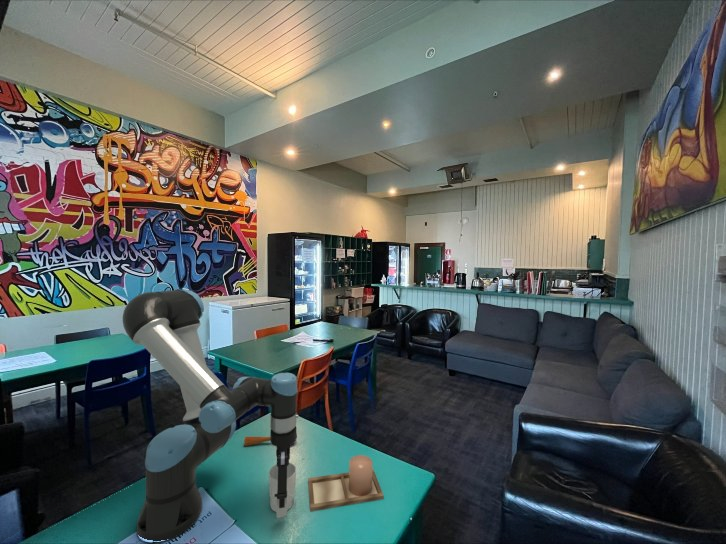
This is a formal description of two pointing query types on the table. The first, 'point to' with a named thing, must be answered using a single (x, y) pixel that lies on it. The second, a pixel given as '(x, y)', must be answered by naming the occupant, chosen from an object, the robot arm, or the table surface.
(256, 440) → the kendama
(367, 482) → the pink round cylinder
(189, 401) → the robot arm
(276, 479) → the white cup
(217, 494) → the table surface
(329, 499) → the wooden divided tray
